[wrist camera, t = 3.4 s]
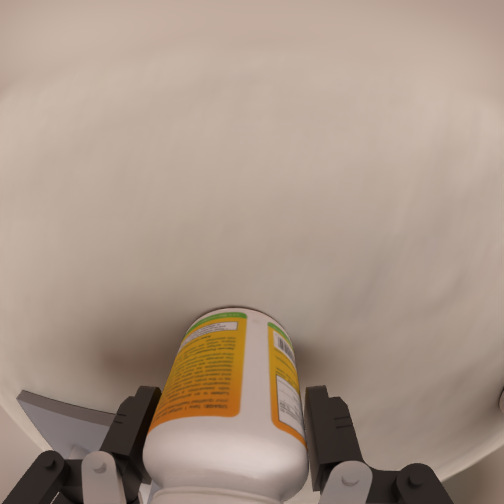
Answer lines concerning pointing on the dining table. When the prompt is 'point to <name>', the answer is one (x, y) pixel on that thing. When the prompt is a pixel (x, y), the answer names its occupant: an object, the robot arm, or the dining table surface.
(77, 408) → the pin holder
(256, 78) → the dining table surface
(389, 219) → the dining table surface
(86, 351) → the dining table surface
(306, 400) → the robot arm
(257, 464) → the supplement bottle
